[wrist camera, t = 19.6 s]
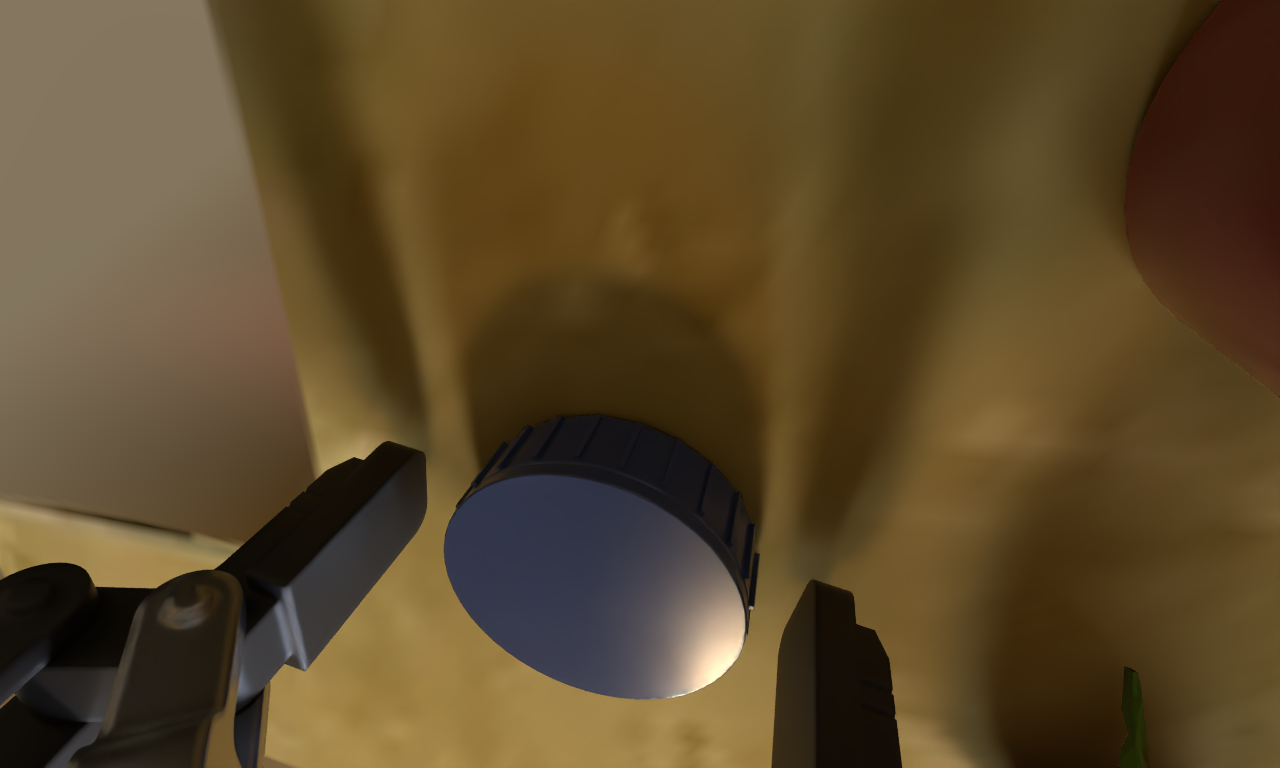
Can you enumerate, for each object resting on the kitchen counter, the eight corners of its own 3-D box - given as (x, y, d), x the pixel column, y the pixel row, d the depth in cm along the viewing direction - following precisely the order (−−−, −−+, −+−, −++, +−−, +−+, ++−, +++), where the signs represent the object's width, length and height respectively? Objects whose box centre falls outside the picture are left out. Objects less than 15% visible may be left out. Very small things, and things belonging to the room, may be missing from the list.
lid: (694, 662, 14) (679, 739, 12) (466, 559, 14) (423, 622, 12) (814, 493, 10) (813, 569, 9) (513, 362, 11) (464, 415, 9)
